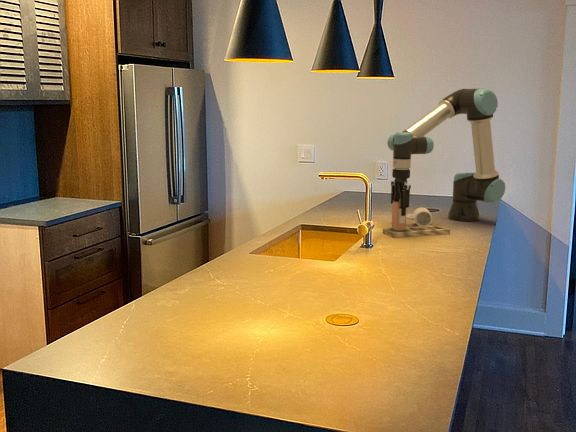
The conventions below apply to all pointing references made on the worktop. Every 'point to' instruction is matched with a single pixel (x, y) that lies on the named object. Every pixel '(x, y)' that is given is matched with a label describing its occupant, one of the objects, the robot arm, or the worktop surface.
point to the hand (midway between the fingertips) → (398, 221)
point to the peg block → (397, 217)
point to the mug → (421, 217)
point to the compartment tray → (417, 231)
